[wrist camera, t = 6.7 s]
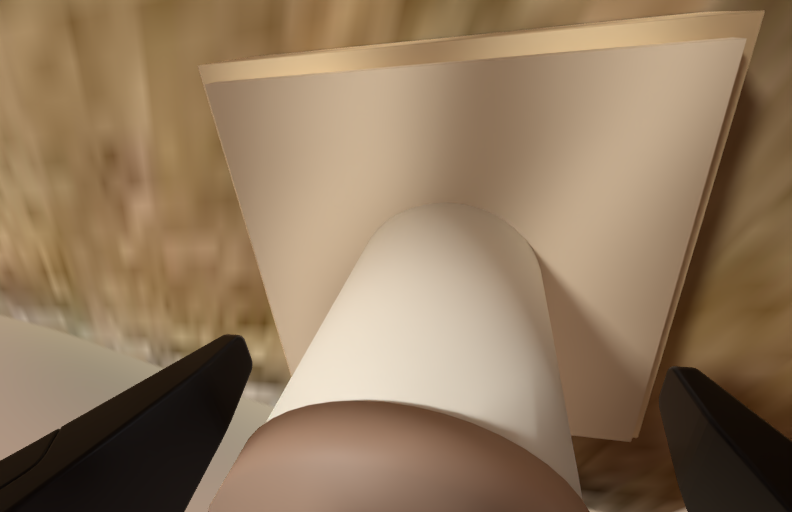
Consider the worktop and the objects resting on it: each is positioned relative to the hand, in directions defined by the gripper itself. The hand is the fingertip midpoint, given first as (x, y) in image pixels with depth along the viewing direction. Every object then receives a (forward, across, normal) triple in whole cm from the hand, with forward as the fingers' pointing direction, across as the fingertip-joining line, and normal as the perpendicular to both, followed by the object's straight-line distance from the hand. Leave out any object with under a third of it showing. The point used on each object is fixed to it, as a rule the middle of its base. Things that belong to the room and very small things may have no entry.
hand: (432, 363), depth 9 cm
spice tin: (+3, 0, 0) cm, 3 cm away
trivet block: (+6, 0, 0) cm, 6 cm away
